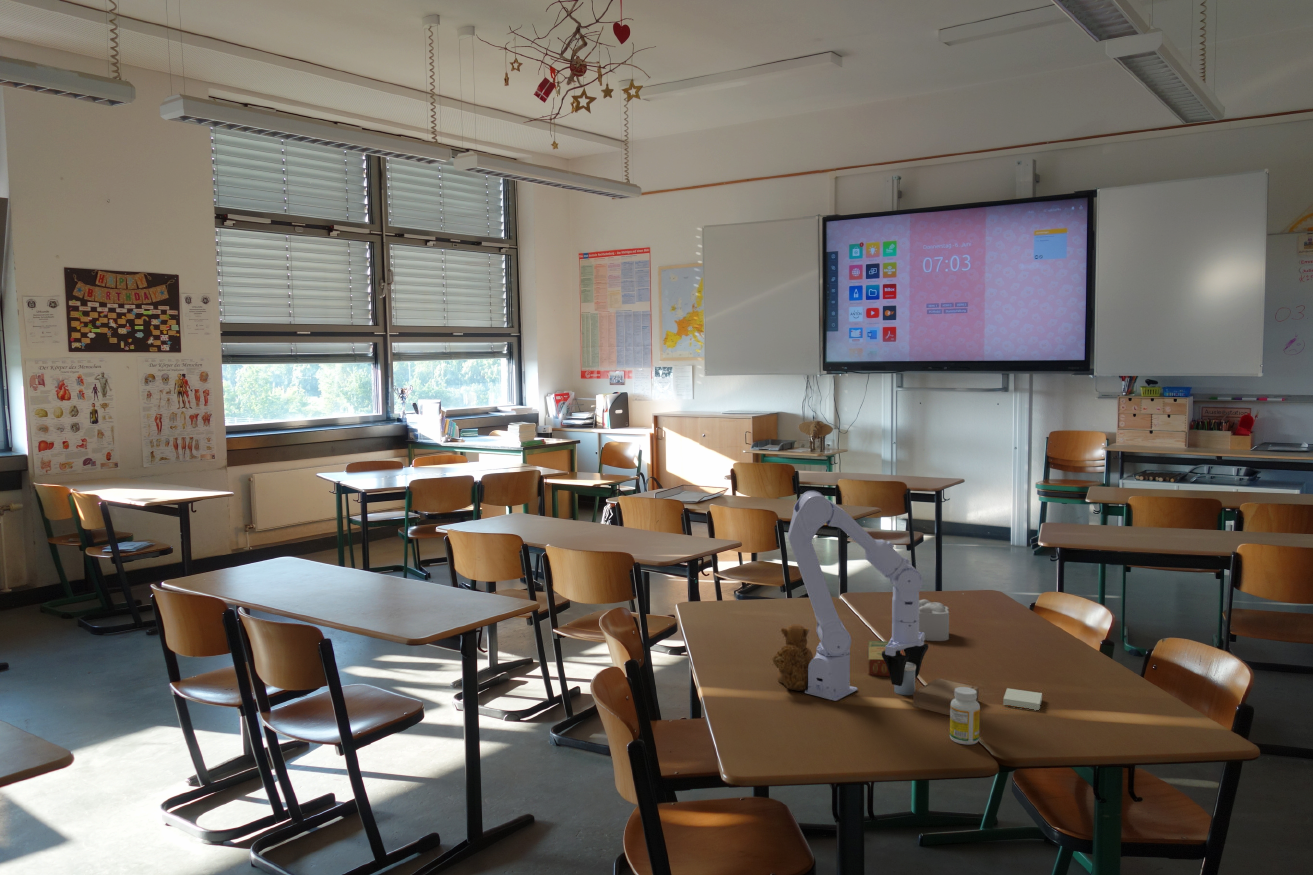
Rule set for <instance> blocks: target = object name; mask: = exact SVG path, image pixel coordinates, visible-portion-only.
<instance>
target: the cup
mask: <svg viewBox="0 0 1313 875" xmlns="http://www.w3.org/2000/svg"><path fill="white" fill-rule="evenodd" d="M915 670H916V665H915V664H913V663H910V662H906V665H905V669H904V677H903V683H902V686H897V685H893V688H894V690H893V692H894V693H895V694H897V695H900V696H913V692H915V691H916V677H915Z"/></svg>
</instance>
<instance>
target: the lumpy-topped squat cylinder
mask: <svg viewBox="0 0 1313 875" xmlns="http://www.w3.org/2000/svg"><path fill="white" fill-rule="evenodd" d="M949 609H950V608H949V607H948V606H945V605H944V604H943V603H941V602H935V601H933V602H931V601H930V600H929V599H925V598H924V599H919V632H923V633H925V637H924V641H930V642H931V641H932V642H934V641H935V642H944V641H948V640H950V638H949V637H950V611H949Z"/></svg>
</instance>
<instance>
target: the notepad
mask: <svg viewBox="0 0 1313 875" xmlns="http://www.w3.org/2000/svg"><path fill="white" fill-rule="evenodd" d="M1002 700H1003V701H1002V702H1003V704H1002V706H1003V705H1011V706H1017V707H1024V708H1029V709H1034V710H1033V711H1036V710H1039V709H1041V706H1040V705H1042V702H1043V693H1042V692H1036V691H1029V690H1021V689H1015V688H1008V687H1007V688H1006V690H1005V693H1004V695H1003V699H1002ZM1029 709H1028V710H1029ZM1039 711H1040V710H1039Z"/></svg>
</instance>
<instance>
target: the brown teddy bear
mask: <svg viewBox="0 0 1313 875" xmlns="http://www.w3.org/2000/svg"><path fill="white" fill-rule="evenodd" d="M779 632H780V633H781V634H782V635H783V637H782V638H785V639H784V640H785V645H783V646H782V647H781V648H780V650H779V651H777V652H776V654H775V655H773V657H772V658H771V660H772V664H771V665H772V666H773V665H774V666H775V667H776V668H777V669H778V673H777V681H778V682H779V683H780V684H783V685H784V686H785V688H786V689H788V690H790V691H797V692H798V691H801V692H803V691H804V692H805V690H806V689H807V688H808V666H809V663H810V661H811V660H812V659H813V658H814V656H813V652H812V650H811V649H810V647H809V646H807V645H808V639H809V636H808V635H809V633H810V628H809V627H804V626H803V625H801V624H798V623H795V624H791V625H789V626H787V627H786V628H784V627H781V628H780V629H779Z"/></svg>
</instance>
